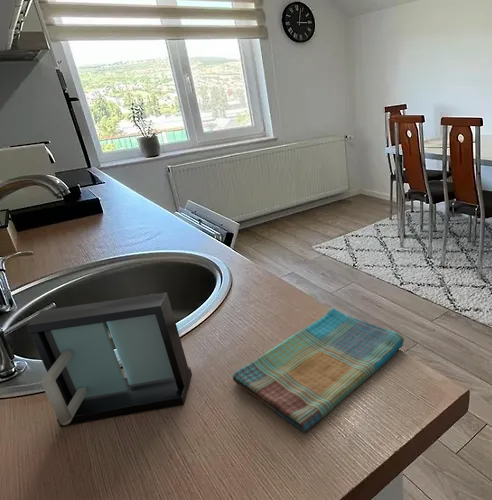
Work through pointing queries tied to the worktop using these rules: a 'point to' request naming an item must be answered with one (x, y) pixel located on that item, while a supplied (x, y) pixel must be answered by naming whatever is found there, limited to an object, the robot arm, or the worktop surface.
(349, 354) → the dish towel
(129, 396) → the window frame
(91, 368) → the pane
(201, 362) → the worktop surface
